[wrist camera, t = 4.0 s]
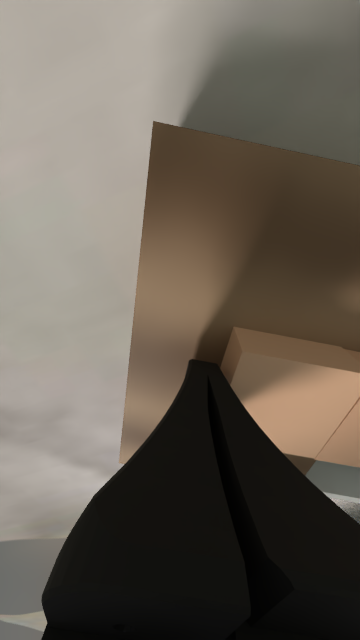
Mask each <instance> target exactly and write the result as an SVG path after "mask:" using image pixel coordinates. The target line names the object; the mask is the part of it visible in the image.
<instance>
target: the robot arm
mask: <svg viewBox="0 0 360 640" xmlns="http://www.w3.org/2000/svg"><path fill="white" fill-rule="evenodd" d="M42 606H43V610H44V613H45V616H46V619H47V626H46V628H45V631H44V634H43V637H42V640H360V524H359V523H357V522H356V521H355V520H354V519H353V518H351V517H350V516H349V515H348V514H347V513H345V512H344V511H343V510H342V509H341V508H340V507H338V506H337V505H336V504H335V503H334V502H333V501H332V500H331V499H330V498H329V497H327V496H326V495H325V494H324V493H323V492H322V491H321V490H320V489H319V488H318V487H316V486H315V485H314V484H313V483H312V482H311V481H310V480H309V479H308V478H307V477H306V476H305V475H304V474H303V473H302V472H301V471H300V470H299V469H298V468H297V467H296V466H295V465H294V464H293V463H292V462H291V461H290V460H289V459H288V458H287V457H286V456H285V455H284V454H283V453H282V452H281V451H280V450H279V449H278V447H277V446H276V445H275V444H274V443H273V442H272V441H271V440H270V438H269V437H268V436H267V435H266V434H265V433H264V431H263V430H262V429H261V428H260V427H259V425H258V424H257V423H256V422H255V420H254V419H253V418H252V416H251V415H250V414H249V412H248V411H247V410H246V408H245V407H244V406H243V404H242V403H241V401H240V400H239V398H238V397H237V395H236V394H235V392H234V391H233V389H232V387H231V386H230V384H229V383H228V381H227V379H226V378H225V376H224V374H223V373H222V371H221V369H220V367H219V366H218V364H216V363H211V362H206V361H200V360H195V359H191V360H189V362H188V366H187V370H186V374H185V379H184V381H183V383H182V386H181V388H180V390H179V392H178V393H177V395H176V397H175V399H174V401H173V402H172V404H171V406H170V407H169V409H168V410H167V412H166V414H165V415H164V416H163V418H162V419H161V421H160V422H159V424H158V425H157V426H156V428H155V429H154V430H153V432H152V433H151V434H150V435H149V437H148V438H147V439H146V440H145V442H144V443H143V444H142V445H141V446H140V447H139V449H138V450H137V451H136V452H135V453H134V454H133V455H132V457H131V458H130V459H129V460H128V461H127V462H126V463H125V465H124V466H123V467H122V468H121V469H120V470H119V471H118V472H117V473H116V474H115V475H114V476H113V477H112V478H111V479H110V480H109V481H108V482H107V483H106V484H105V485H104V486H103V487H102V488H101V489H100V490H99V491H98V492H97V493H96V494H95V495H94V496H93V498H92V499H91V501H90V502H89V504H88V505H87V507H86V508H85V510H84V511H83V513H82V514H81V516H80V518H79V519H78V521H77V522H76V524H75V526H74V527H73V529H72V530H71V532H70V534H69V536H68V537H67V539H66V541H65V543H64V545H63V547H62V549H61V551H60V553H59V555H58V557H57V559H56V562H55V565H54V567H53V569H52V572H51V574H50V577H49V579H48V582H47V584H46V587H45V589H44V592H43V594H42Z"/></svg>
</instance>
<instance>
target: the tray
mask: <svg viewBox="0 0 360 640" xmlns="http://www.w3.org/2000/svg"><path fill="white" fill-rule="evenodd" d="M305 476H306V477H307V478H308V479H309V480H310V481H311V482H312V483H313V484H314V485H315V486H316V487H318V488H319V489H320V490H321V491H322V492H323V493H324V494H325V495H326V496H327V497H329V498H331V499H336V500H342V501H348V502H353V503H359V504H360V467H354V466H348V465H342V464H337V463H331V462H325V461H319V460H316V462H315V463H314V464H313V466H312V467H311V468H310V470H309V471H308V472H307V474H306V475H305Z"/></svg>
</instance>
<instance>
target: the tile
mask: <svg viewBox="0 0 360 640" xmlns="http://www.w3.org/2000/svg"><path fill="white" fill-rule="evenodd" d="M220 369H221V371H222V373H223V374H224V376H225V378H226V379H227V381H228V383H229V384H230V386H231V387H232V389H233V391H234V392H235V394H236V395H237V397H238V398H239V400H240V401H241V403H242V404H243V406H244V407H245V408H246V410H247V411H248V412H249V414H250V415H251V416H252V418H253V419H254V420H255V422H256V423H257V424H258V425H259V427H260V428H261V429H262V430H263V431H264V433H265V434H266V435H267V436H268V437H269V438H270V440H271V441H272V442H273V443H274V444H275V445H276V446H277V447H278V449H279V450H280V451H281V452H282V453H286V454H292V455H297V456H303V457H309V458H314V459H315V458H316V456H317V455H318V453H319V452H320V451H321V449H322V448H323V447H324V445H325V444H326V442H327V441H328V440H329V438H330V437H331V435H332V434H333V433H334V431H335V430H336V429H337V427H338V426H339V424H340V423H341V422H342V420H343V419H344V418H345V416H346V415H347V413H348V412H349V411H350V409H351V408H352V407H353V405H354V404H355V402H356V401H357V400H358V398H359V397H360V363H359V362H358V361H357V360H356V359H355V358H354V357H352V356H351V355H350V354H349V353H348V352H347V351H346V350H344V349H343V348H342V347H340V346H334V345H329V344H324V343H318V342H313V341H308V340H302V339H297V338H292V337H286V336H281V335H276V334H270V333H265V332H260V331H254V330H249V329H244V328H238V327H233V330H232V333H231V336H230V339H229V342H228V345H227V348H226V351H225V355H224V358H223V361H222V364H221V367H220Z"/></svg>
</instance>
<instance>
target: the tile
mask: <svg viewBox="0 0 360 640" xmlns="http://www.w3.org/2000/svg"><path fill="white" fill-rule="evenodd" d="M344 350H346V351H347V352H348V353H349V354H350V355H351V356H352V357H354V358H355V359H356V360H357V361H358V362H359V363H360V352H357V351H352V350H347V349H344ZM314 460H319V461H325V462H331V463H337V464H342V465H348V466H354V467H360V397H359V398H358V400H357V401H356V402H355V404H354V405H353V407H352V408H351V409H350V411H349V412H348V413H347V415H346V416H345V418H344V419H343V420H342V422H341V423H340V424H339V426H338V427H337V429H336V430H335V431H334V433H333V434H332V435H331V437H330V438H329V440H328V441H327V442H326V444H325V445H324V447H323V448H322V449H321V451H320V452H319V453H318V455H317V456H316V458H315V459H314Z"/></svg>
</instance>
